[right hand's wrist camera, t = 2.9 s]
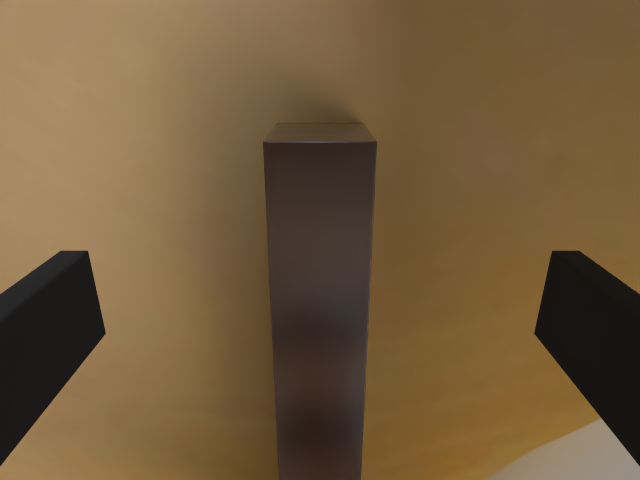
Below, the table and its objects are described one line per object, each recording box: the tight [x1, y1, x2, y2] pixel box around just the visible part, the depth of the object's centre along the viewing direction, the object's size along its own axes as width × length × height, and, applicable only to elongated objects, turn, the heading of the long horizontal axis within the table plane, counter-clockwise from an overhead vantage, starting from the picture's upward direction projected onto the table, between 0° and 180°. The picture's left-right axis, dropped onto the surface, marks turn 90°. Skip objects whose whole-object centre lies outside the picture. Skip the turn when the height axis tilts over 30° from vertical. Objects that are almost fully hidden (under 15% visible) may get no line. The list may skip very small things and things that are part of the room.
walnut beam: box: [263, 123, 377, 480], centre depth 29 cm, size 34×5×6 cm, turn 0°
